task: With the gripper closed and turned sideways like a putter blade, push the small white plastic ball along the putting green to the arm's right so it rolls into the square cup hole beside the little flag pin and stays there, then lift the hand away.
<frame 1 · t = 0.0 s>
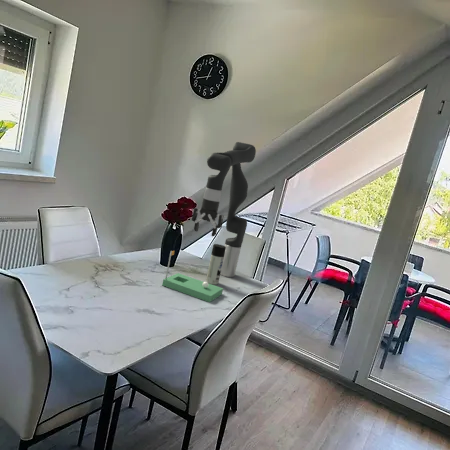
hand: (204, 233, 193), 29 cm above the table, fingers open, 8 cm apart
putting green: (192, 289, 203), on the table
spray can: (211, 282, 220), on the table
ball: (205, 284, 201), point 4 cm above the table, touching putting green
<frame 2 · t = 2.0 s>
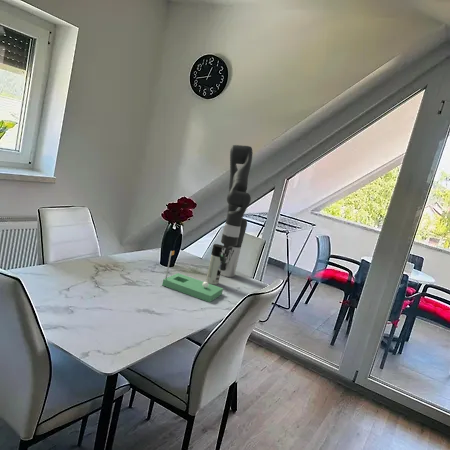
hand: (222, 270, 197), 14 cm above the table, fingers closed
nothing on the table moved.
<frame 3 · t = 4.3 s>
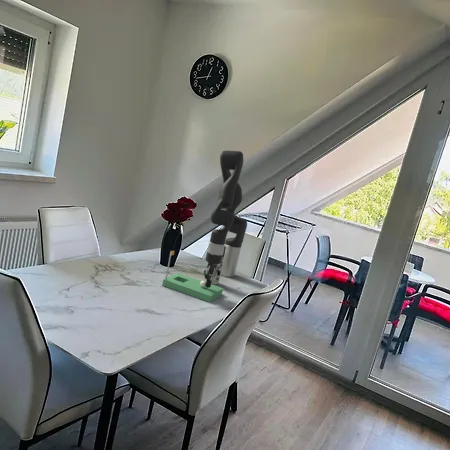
hand: (207, 287, 200), 4 cm above the table, fingers closed
ball: (203, 284, 201), point 4 cm above the table, tilted 44°, touching putting green, gripper
everything else where it was.
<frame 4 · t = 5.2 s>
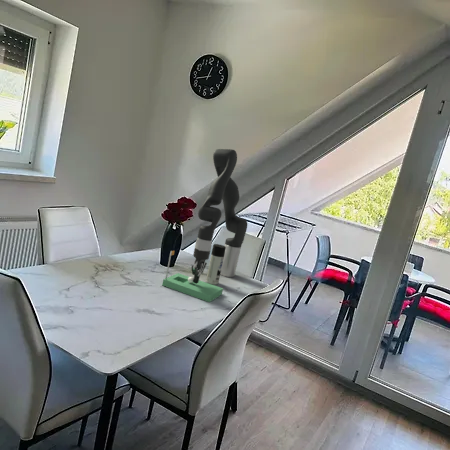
hand: (195, 282, 202), 4 cm above the table, fingers closed
ball: (191, 280, 203), point 5 cm above the table, tilted 135°, touching gripper
everything else where it was.
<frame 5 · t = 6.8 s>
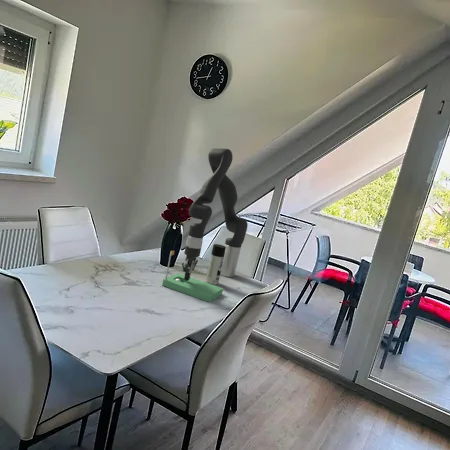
hand: (186, 279, 204), 4 cm above the table, fingers closed
ball: (177, 281, 206), point 1 cm above the table, tilted 129°
everything else where it was.
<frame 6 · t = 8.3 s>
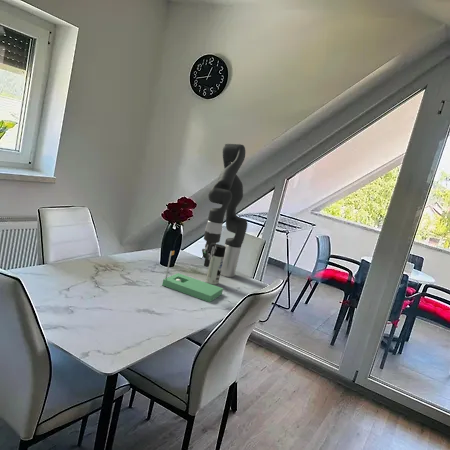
hand: (206, 266, 200), 13 cm above the table, fingers closed
ball: (178, 281, 206), point 1 cm above the table, tilted 119°
everything else where it was.
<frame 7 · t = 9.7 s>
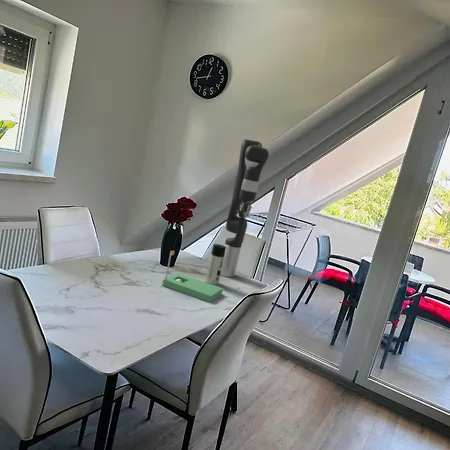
hand: (241, 225, 201), 35 cm above the table, fingers closed
ball: (178, 282, 206), point 1 cm above the table, tilted 110°
everything else where it was.
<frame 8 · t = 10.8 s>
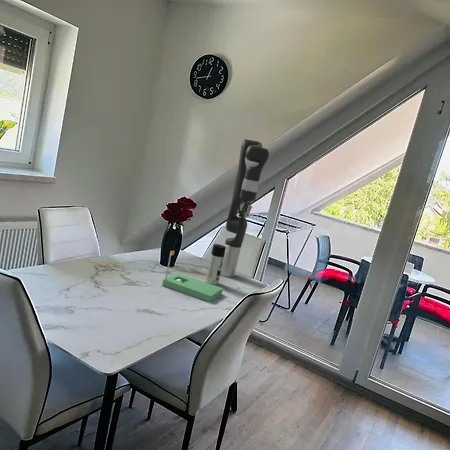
hand: (241, 225, 201), 35 cm above the table, fingers closed
ball: (178, 282, 205), point 1 cm above the table, tilted 103°
everything else where it was.
at the end: ball 0.7 cm from the target spot on the putting green, point 1.5 cm above the putting green's base; ball point 1.5 cm above the table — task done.
